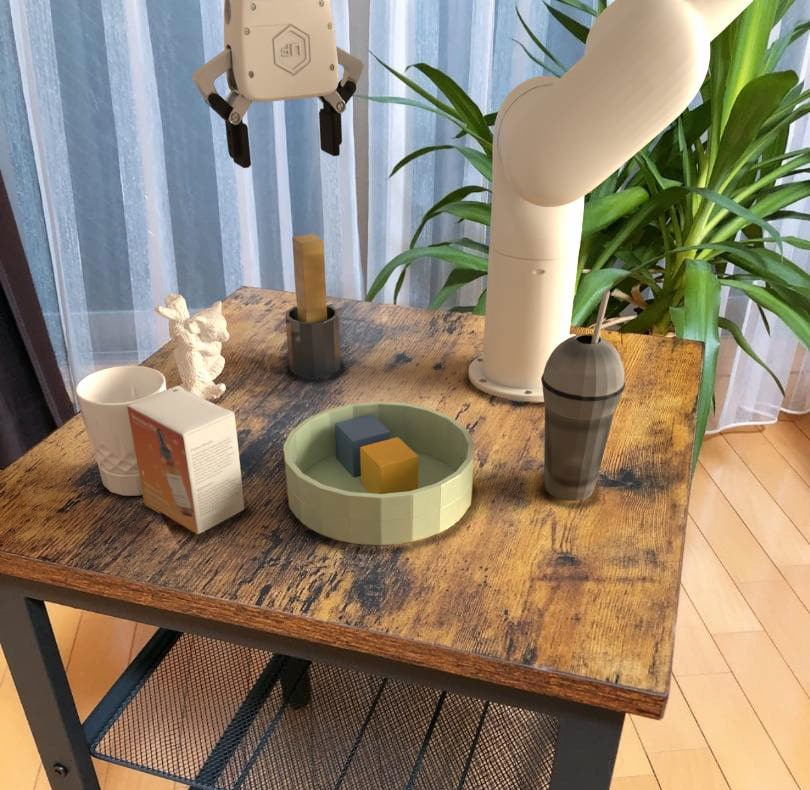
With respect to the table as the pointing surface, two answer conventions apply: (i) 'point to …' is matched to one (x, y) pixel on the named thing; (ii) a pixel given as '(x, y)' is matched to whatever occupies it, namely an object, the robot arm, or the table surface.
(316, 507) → the bowl
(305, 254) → the tan wooden bar
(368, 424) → the blue block
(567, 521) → the table surface
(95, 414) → the white cup
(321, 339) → the utensil pot
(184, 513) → the small box
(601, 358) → the beverage cup
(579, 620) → the table surface
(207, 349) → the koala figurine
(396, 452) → the mustard block
